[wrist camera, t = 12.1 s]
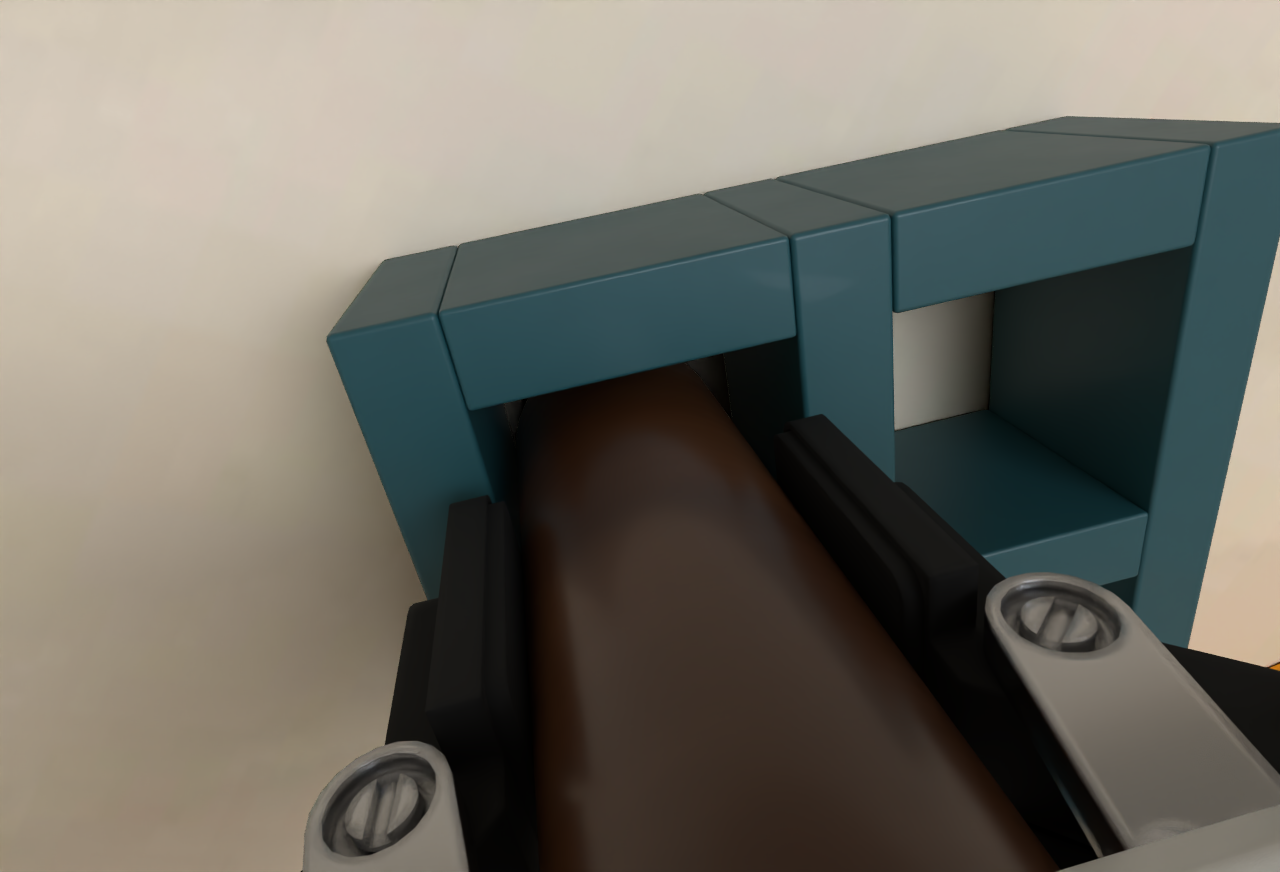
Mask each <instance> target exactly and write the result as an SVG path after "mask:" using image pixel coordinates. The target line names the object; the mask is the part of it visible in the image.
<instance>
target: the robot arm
mask: <svg viewBox="0 0 1280 872" xmlns="http://www.w3.org/2000/svg"><path fill="white" fill-rule="evenodd" d="M773 442H774V454H775V464H776V474H777V483H778V484H779V486H780V487H781V488H782V490H783V491H784V492H785V494H786V495H787V497H788V498H789V499H790V501H791V502H792V503H793V505H794V506H795V508H796V509H797V510H798V512H799V513H800V514H801V516H802V517H803V518H804V520H805V521H806V523H807V524H808V525H809V527H810V528H811V529H812V531H813V532H814V533H815V535H816V536H817V538H818V539H819V540H820V542H821V543H822V544H823V546H824V547H825V548H826V550H827V551H828V553H829V554H830V555H831V557H832V558H833V559H834V561H835V562H836V564H837V565H838V566H839V568H840V569H841V570H842V572H843V573H844V574H845V576H846V577H847V579H848V580H849V581H850V583H851V584H852V585H853V587H854V588H855V589H856V591H857V592H858V594H859V595H860V596H861V598H862V599H863V600H864V602H865V603H866V604H867V606H868V607H869V609H870V610H871V611H872V613H873V614H874V615H875V617H876V618H877V620H878V621H879V622H880V624H881V625H882V626H883V628H884V629H885V630H886V632H887V633H888V635H889V636H890V637H891V639H892V640H893V641H894V643H895V644H896V645H897V647H898V648H899V650H900V651H901V652H902V654H903V655H904V656H905V658H906V659H907V660H908V662H909V663H910V665H911V666H912V667H913V669H914V670H915V671H916V673H917V674H918V676H919V677H920V678H921V680H922V681H923V682H924V684H925V685H926V686H927V688H928V689H929V691H930V692H931V693H932V695H933V696H934V697H935V699H936V700H937V701H938V703H939V704H940V706H941V707H942V708H943V710H944V711H945V712H946V714H947V715H948V716H949V718H950V719H951V721H952V722H953V723H954V725H955V726H956V727H957V729H958V730H959V732H960V733H961V734H962V736H963V737H964V738H965V740H966V741H967V742H968V744H969V745H970V747H971V748H972V749H973V751H974V752H975V753H976V755H977V756H978V757H979V759H980V760H981V762H982V763H983V764H984V766H985V767H986V768H987V770H988V771H989V772H990V774H991V775H992V777H993V778H994V779H995V781H996V782H997V783H998V785H999V786H1000V788H1001V789H1002V790H1003V792H1004V793H1005V794H1006V796H1007V797H1008V798H1009V800H1010V801H1011V803H1012V804H1013V805H1014V807H1015V808H1016V809H1017V811H1018V812H1019V813H1020V815H1021V816H1022V818H1023V819H1024V820H1025V822H1026V823H1027V824H1028V826H1029V827H1030V828H1031V830H1032V831H1033V833H1034V834H1035V835H1036V837H1037V838H1038V839H1039V841H1040V842H1041V844H1042V845H1043V846H1044V848H1045V849H1046V850H1047V852H1048V853H1049V854H1050V856H1051V857H1052V859H1053V860H1054V861H1055V863H1056V864H1057V865H1058V867H1059V868H1060V869H1061V870H1059V871H1056V872H1280V671H1279V670H1275V669H1270V668H1266V667H1262V666H1258V665H1254V664H1250V663H1246V662H1241V661H1237V660H1233V659H1229V658H1225V657H1221V656H1216V655H1212V654H1208V653H1204V652H1200V651H1196V650H1192V649H1187V648H1183V647H1179V646H1175V645H1171V644H1167V643H1163V642H1160V641H1159V639H1158V638H1157V637H1156V636H1155V635H1154V634H1153V633H1152V632H1151V630H1150V629H1149V628H1148V627H1147V626H1146V625H1145V624H1144V623H1143V621H1142V620H1141V619H1140V618H1139V617H1138V616H1137V615H1136V614H1135V613H1134V611H1133V610H1132V609H1131V608H1130V607H1129V606H1128V605H1127V604H1126V603H1125V602H1123V601H1122V600H1121V599H1120V598H1119V597H1117V596H1116V595H1115V594H1114V593H1112V592H1111V591H1109V590H1107V589H1105V588H1103V587H1101V586H1099V585H1097V584H1095V583H1093V582H1090V581H1087V580H1084V579H1081V578H1078V577H1075V576H1071V575H1065V574H1058V573H1051V572H1037V573H1024V574H1020V575H1016V576H1012V577H1009V578H1007V579H1006V578H1005V577H1004V576H1003V575H1002V574H1001V573H1000V572H999V571H998V570H997V569H996V568H995V567H994V566H992V565H991V564H990V563H989V562H988V561H987V560H986V559H985V558H984V557H983V556H982V555H981V554H980V553H979V552H978V551H977V550H975V549H974V548H973V547H972V546H971V545H970V544H969V543H968V542H967V541H966V540H965V539H964V538H963V537H962V536H961V535H960V534H958V533H957V532H956V531H955V530H954V529H953V528H952V527H951V526H950V525H949V524H948V523H947V522H946V521H945V520H944V519H943V518H942V517H940V516H939V515H938V514H937V513H936V512H935V511H934V510H933V509H932V508H931V507H930V506H929V505H928V504H927V503H926V502H925V501H923V500H922V499H921V498H920V497H919V496H918V495H917V494H916V493H915V492H914V491H913V490H912V489H911V488H910V487H908V486H907V485H905V484H904V483H903V482H893V481H892V480H891V479H890V478H889V477H888V476H887V475H886V474H885V473H884V472H883V471H882V470H881V469H880V468H879V467H878V466H876V465H875V464H874V463H873V462H872V461H871V460H870V459H869V458H868V457H867V456H866V455H865V454H864V453H863V452H862V451H861V450H860V449H859V448H858V447H857V446H856V445H855V444H854V443H853V442H852V441H851V440H850V439H849V438H848V437H846V436H845V435H844V434H843V433H842V432H841V431H840V430H839V429H838V428H837V427H836V426H835V425H834V424H833V423H832V422H831V421H830V420H829V419H828V418H827V417H826V416H824V415H823V414H819V415H814V416H810V417H806V418H802V419H798V420H794V421H790V422H786V423H785V425H784V430H783V433H780V434H776V435H775V436H774V440H773ZM301 872H540V871H539V853H538V834H537V816H536V798H535V780H534V762H533V744H532V726H531V707H530V689H529V671H528V653H527V635H526V617H525V599H524V581H523V562H522V554H521V551H520V547H519V544H518V541H517V538H516V534H515V531H514V528H513V525H512V521H511V518H510V515H509V511H508V508H507V505H506V503H505V501H501V502H497V503H493V504H492V502H491V499H490V497H489V496H488V495H485V496H481V497H476V498H472V499H468V500H464V501H460V502H456V503H452V504H450V506H449V512H448V521H447V529H446V538H445V546H444V555H443V563H442V572H441V580H440V589H439V597H438V598H435V599H431V600H427V601H423V602H419V603H415V604H413V605H412V606H410V608H409V611H408V615H407V620H406V626H405V632H404V638H403V643H402V649H401V655H400V661H399V666H398V672H397V678H396V684H395V689H394V695H393V701H392V707H391V712H390V718H389V724H388V730H387V735H386V741H385V745H384V746H381V747H378V748H375V749H373V750H372V751H370V752H368V753H366V754H364V755H362V756H360V757H358V758H356V759H355V760H354V761H352V762H351V763H350V764H349V765H347V766H346V767H345V768H344V769H342V770H341V771H340V772H339V773H337V774H336V775H335V776H334V778H333V779H332V780H331V781H330V782H329V783H328V785H327V786H326V787H325V788H324V789H323V790H322V792H321V793H320V794H319V796H318V798H317V800H316V802H315V804H314V806H313V807H312V809H311V811H310V813H309V817H308V821H307V825H306V830H305V836H304V856H303V870H302V871H301Z"/></svg>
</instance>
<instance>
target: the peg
mask: <svg viewBox="0 0 1280 872" xmlns="http://www.w3.org/2000/svg"><path fill="white" fill-rule="evenodd" d="M516 454H517V472H518V490H519V508H520V526H521V544H522V562H523V581H524V599H525V617H526V635H527V653H528V671H529V689H530V707H531V726H532V744H533V762H534V780H535V798H536V816H537V834H538V853H539V871H540V872H1056V871H1059V870H1061V869H1060V868H1059V867H1058V865H1057V864H1056V863H1055V861H1054V860H1053V859H1052V857H1051V856H1050V854H1049V853H1048V852H1047V850H1046V849H1045V848H1044V846H1043V845H1042V844H1041V842H1040V841H1039V839H1038V838H1037V837H1036V835H1035V834H1034V833H1033V831H1032V830H1031V828H1030V827H1029V826H1028V824H1027V823H1026V822H1025V820H1024V819H1023V818H1022V816H1021V815H1020V813H1019V812H1018V811H1017V809H1016V808H1015V807H1014V805H1013V804H1012V803H1011V801H1010V800H1009V798H1008V797H1007V796H1006V794H1005V793H1004V792H1003V790H1002V789H1001V788H1000V786H999V785H998V783H997V782H996V781H995V779H994V778H993V777H992V775H991V774H990V772H989V771H988V770H987V768H986V767H985V766H984V764H983V763H982V762H981V760H980V759H979V757H978V756H977V755H976V753H975V752H974V751H973V749H972V748H971V747H970V745H969V744H968V742H967V741H966V740H965V738H964V737H963V736H962V734H961V733H960V732H959V730H958V729H957V727H956V726H955V725H954V723H953V722H952V721H951V719H950V718H949V716H948V715H947V714H946V712H945V711H944V710H943V708H942V707H941V706H940V704H939V703H938V701H937V700H936V699H935V697H934V696H933V695H932V693H931V692H930V691H929V689H928V688H927V686H926V685H925V684H924V682H923V681H922V680H921V678H920V677H919V676H918V674H917V673H916V671H915V670H914V669H913V667H912V666H911V665H910V663H909V662H908V660H907V659H906V658H905V656H904V655H903V654H902V652H901V651H900V650H899V648H898V647H897V645H896V644H895V643H894V641H893V640H892V639H891V637H890V636H889V635H888V633H887V632H886V630H885V629H884V628H883V626H882V625H881V624H880V622H879V621H878V620H877V618H876V617H875V615H874V614H873V613H872V611H871V610H870V609H869V607H868V606H867V604H866V603H865V602H864V600H863V599H862V598H861V596H860V595H859V594H858V592H857V591H856V589H855V588H854V587H853V585H852V584H851V583H850V581H849V580H848V579H847V577H846V576H845V574H844V573H843V572H842V570H841V569H840V568H839V566H838V565H837V564H836V562H835V561H834V559H833V558H832V557H831V555H830V554H829V553H828V551H827V550H826V548H825V547H824V546H823V544H822V543H821V542H820V540H819V539H818V538H817V536H816V535H815V533H814V532H813V531H812V529H811V528H810V527H809V525H808V524H807V523H806V521H805V520H804V518H803V517H802V516H801V514H800V513H799V512H798V510H797V509H796V508H795V506H794V505H793V503H792V502H791V501H790V499H789V498H788V497H787V495H786V494H785V492H784V491H783V490H782V488H781V487H780V486H779V484H778V483H777V482H776V480H775V479H774V477H773V476H772V475H771V473H770V472H769V471H768V469H767V468H766V467H765V465H764V464H763V462H762V461H761V460H760V458H759V457H758V456H757V454H756V453H755V452H754V450H753V449H752V447H751V446H750V445H749V443H748V442H747V441H746V439H745V438H744V436H743V435H742V434H741V432H740V431H739V430H738V428H737V427H736V426H735V424H734V423H733V421H732V420H731V419H730V417H729V416H728V415H727V413H726V412H725V411H724V409H723V408H722V406H721V405H720V404H719V402H718V401H717V400H716V398H715V397H714V396H713V394H712V393H711V391H710V390H709V389H708V387H707V386H706V385H705V383H704V382H703V381H702V379H701V378H700V377H699V375H698V374H697V373H696V372H695V371H694V370H693V369H692V368H691V367H690V366H688V365H687V364H685V363H684V362H683V363H678V364H674V365H670V366H665V367H661V368H656V369H652V370H648V371H643V372H639V373H635V374H630V375H626V376H621V377H617V378H613V379H608V380H604V381H600V382H595V383H591V384H587V385H582V386H578V387H573V388H569V389H565V390H560V391H556V392H552V393H547V394H543V395H538V396H534V397H530V398H528V400H527V402H526V403H525V405H524V408H523V410H522V413H521V416H520V419H519V423H518V427H517V435H516Z"/></svg>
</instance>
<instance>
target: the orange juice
mask: <svg viewBox="0 0 1280 872" xmlns="http://www.w3.org/2000/svg"><path fill="white" fill-rule="evenodd" d="M1270 669H1275V670H1279V671H1280V664H1277V665H1275V666H1273V667H1271V668H1270Z"/></svg>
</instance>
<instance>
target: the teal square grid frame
mask: <svg viewBox="0 0 1280 872" xmlns="http://www.w3.org/2000/svg"><path fill="white" fill-rule="evenodd" d="M1279 237H1280V123H1262V122H1231V121H1200V120H1168V119H1137V118H1106V117H1075V116H1066V117H1061V118H1057V119H1052V120H1047V121H1042V122H1038V123H1033V124H1028V125H1023V126H1019V127H1014V128H1009V129H1007V130H1005V131H1000V130H999V131H995V132H990V133H985V134H980V135H976V136H971V137H966V138H961V139H957V140H952V141H947V142H942V143H938V144H933V145H928V146H923V147H919V148H914V149H909V150H905V151H900V152H895V153H890V154H886V155H881V156H876V157H871V158H867V159H862V160H857V161H852V162H848V163H843V164H838V165H833V166H829V167H824V168H819V169H814V170H810V171H805V172H800V173H795V174H791V175H786V176H781V177H778V178H777V179H776V180H773V179H767V180H762V181H758V182H753V183H748V184H743V185H739V186H734V187H729V188H724V189H720V190H715V191H710V192H707V193H705V194H704V195H702V194H695V195H690V196H686V197H681V198H676V199H671V200H667V201H662V202H657V203H652V204H648V205H643V206H638V207H634V208H629V209H624V210H619V211H615V212H610V213H605V214H600V215H596V216H591V217H586V218H581V219H577V220H572V221H567V222H562V223H558V224H553V225H548V226H543V227H539V228H534V229H529V230H524V231H520V232H515V233H510V234H505V235H501V236H496V237H491V238H486V239H482V240H477V241H472V242H467V243H463V244H461V245H459V248H458V247H457V246H449V247H445V248H440V249H435V250H430V251H426V252H421V253H416V254H411V255H407V256H402V257H397V258H392V259H388V260H384V261H383V262H382V263H381V264H380V266H379V267H378V268H377V270H376V271H375V272H374V274H373V275H372V276H371V278H370V279H369V280H368V282H367V283H366V284H365V286H364V287H363V288H362V290H361V291H360V292H359V294H358V295H357V297H356V298H355V299H354V301H353V302H352V303H351V305H350V306H349V307H348V309H347V310H346V311H345V313H344V314H343V315H342V317H341V318H340V319H339V321H338V322H337V323H336V325H335V326H334V327H333V329H332V330H331V331H330V333H329V334H328V335H327V341H326V342H327V344H328V347H329V349H330V352H331V354H332V357H333V360H334V362H335V365H336V367H337V370H338V372H339V375H340V377H341V380H342V383H343V385H344V388H345V390H346V393H347V395H348V398H349V400H350V403H351V406H352V408H353V411H354V413H355V416H356V418H357V421H358V423H359V426H360V429H361V431H362V434H363V436H364V439H365V441H366V444H367V446H368V449H369V452H370V454H371V457H372V459H373V462H374V464H375V467H376V469H377V472H378V475H379V477H380V480H381V482H382V485H383V487H384V490H385V492H386V495H387V498H388V500H389V503H390V505H391V508H392V510H393V513H394V515H395V518H396V521H397V523H398V526H399V528H400V531H401V533H402V536H403V538H404V541H405V544H406V546H407V549H408V551H409V554H410V556H411V559H412V561H413V564H414V567H415V569H416V572H417V574H418V577H419V579H420V582H421V584H422V587H423V590H424V592H425V595H426V597H427V600H431V599H435V598H438V597H439V589H440V580H441V572H442V563H443V555H444V546H445V538H446V529H447V521H448V512H449V506H450V504H452V503H456V502H460V501H464V500H468V499H472V498H476V497H481V496H485V495H488V496H489V497H490V499H491V502H492V504H493V503H497V502H501V501H505V503H506V505H507V508H508V511H509V515H510V518H511V521H512V525H513V528H514V531H515V534H516V538H517V541H518V544H519V547H520V551H521V554H522V544H521V526H520V508H519V490H518V472H517V454H516V446H515V443H514V439H513V436H512V432H511V429H510V425H509V422H508V418H507V415H506V411H505V408H504V404H503V403H508V402H512V401H517V400H521V399H525V398H530V397H534V396H538V395H543V394H547V393H552V392H556V391H560V390H565V389H569V388H573V387H578V386H582V385H587V384H591V383H595V382H600V381H604V380H608V379H613V378H617V377H621V376H626V375H630V374H635V373H639V372H643V371H648V370H652V369H656V368H661V367H665V366H670V365H674V364H678V363H683V362H687V361H691V360H696V359H700V358H705V357H709V356H713V355H718V354H722V353H723V355H724V362H725V370H726V378H727V385H728V393H729V401H730V408H731V416H732V421H733V423H734V424H735V426H736V427H737V428H738V430H739V431H740V432H741V434H742V435H743V436H744V438H745V439H746V441H747V442H748V443H749V445H750V446H751V447H752V449H753V450H754V452H755V453H756V454H757V456H758V457H759V458H760V460H761V461H762V462H763V464H764V465H765V467H766V468H767V469H768V471H769V472H770V473H771V475H772V476H773V477H774V479H775V480H776V482H777V474H776V464H775V454H774V442H773V440H774V436H775V435H776V434H780V433H783V430H784V425H785V423H786V422H790V421H794V420H798V419H802V418H806V417H810V416H814V415H819V414H823V415H824V416H826V417H827V418H828V419H829V420H830V421H831V422H832V423H833V424H834V425H835V426H836V427H837V428H838V429H839V430H840V431H841V432H842V433H843V434H844V435H845V436H846V437H848V438H849V439H850V440H851V441H852V442H853V443H854V444H855V445H856V446H857V447H858V448H859V449H860V450H861V451H862V452H863V453H864V454H865V455H866V456H867V457H868V458H869V459H870V460H871V461H872V462H873V463H874V464H875V465H876V466H878V467H879V468H880V469H881V470H882V471H883V472H884V473H885V474H886V475H887V476H888V477H889V478H890V479H891V480H892V481H893V482H903V483H904V484H905V485H907V486H908V487H910V488H911V489H912V490H913V491H914V492H915V493H916V494H917V495H918V496H919V497H920V498H921V499H922V500H923V501H925V502H926V503H927V504H928V505H929V506H930V507H931V508H932V509H933V510H934V511H935V512H936V513H937V514H938V515H939V516H940V517H942V518H943V519H944V520H945V521H946V522H947V523H948V524H949V525H950V526H951V527H952V528H953V529H954V530H955V531H956V532H957V533H958V534H960V535H961V536H962V537H963V538H964V539H965V540H966V541H967V542H968V543H969V544H970V545H971V546H972V547H973V548H974V549H975V550H977V551H978V552H979V553H980V554H981V555H982V556H983V557H984V558H985V559H986V560H987V561H988V562H989V563H990V564H991V565H992V566H994V567H995V568H996V569H997V570H998V571H999V572H1000V573H1001V574H1002V575H1003V576H1004V577H1005V578H1006V579H1007V578H1009V577H1012V576H1016V575H1020V574H1024V573H1037V572H1051V573H1058V574H1065V575H1071V576H1075V577H1078V578H1081V579H1084V580H1087V581H1090V582H1093V583H1095V584H1097V585H1099V586H1101V587H1103V588H1105V589H1107V590H1109V591H1111V592H1112V593H1114V594H1115V595H1116V596H1117V597H1119V598H1120V599H1121V600H1122V601H1123V602H1125V603H1126V604H1127V605H1128V606H1129V607H1130V608H1131V609H1132V610H1133V611H1134V613H1135V614H1136V615H1137V616H1138V617H1139V618H1140V619H1141V620H1142V621H1143V623H1144V624H1145V625H1146V626H1147V627H1148V628H1149V629H1150V630H1151V632H1152V633H1153V634H1154V635H1155V636H1156V637H1157V638H1158V639H1159V641H1160V642H1163V643H1167V644H1171V645H1175V646H1179V647H1183V648H1187V649H1188V644H1189V640H1190V635H1191V631H1192V626H1193V622H1194V618H1195V613H1196V609H1197V604H1198V600H1199V595H1200V591H1201V586H1202V582H1203V577H1204V573H1205V568H1206V564H1207V559H1208V555H1209V550H1210V546H1211V542H1212V537H1213V533H1214V528H1215V524H1216V519H1217V515H1218V510H1219V506H1220V501H1221V497H1222V492H1223V488H1224V483H1225V479H1226V474H1227V470H1228V465H1229V461H1230V457H1231V452H1232V448H1233V443H1234V439H1235V434H1236V430H1237V425H1238V421H1239V416H1240V412H1241V407H1242V403H1243V398H1244V394H1245V389H1246V385H1247V381H1248V376H1249V372H1250V367H1251V363H1252V358H1253V354H1254V349H1255V345H1256V340H1257V336H1258V331H1259V327H1260V322H1261V318H1262V313H1263V309H1264V304H1265V300H1266V296H1267V291H1268V287H1269V282H1270V278H1271V273H1272V269H1273V264H1274V260H1275V255H1276V251H1277V246H1278V242H1279ZM992 291H995V301H994V321H993V341H992V362H991V382H990V402H989V410H982V411H977V412H973V413H969V414H965V415H961V416H957V417H953V418H949V419H944V420H940V421H936V422H932V423H928V424H924V425H920V426H915V427H911V428H907V429H903V430H899V431H895V432H894V378H893V318H892V311H893V312H895V313H900V312H904V311H909V310H913V309H917V308H922V307H926V306H930V305H935V304H939V303H944V302H948V301H952V300H957V299H961V298H965V297H970V296H974V295H979V294H983V293H987V292H992Z"/></svg>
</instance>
